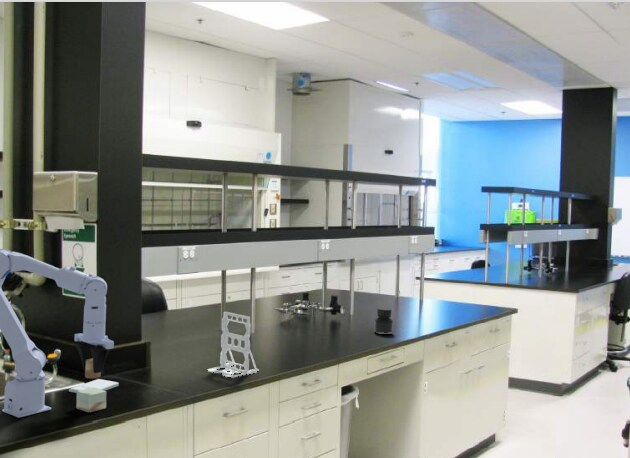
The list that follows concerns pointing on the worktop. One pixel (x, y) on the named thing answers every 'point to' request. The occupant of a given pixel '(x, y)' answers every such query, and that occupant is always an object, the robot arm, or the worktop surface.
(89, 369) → the beech cylinder
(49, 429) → the worktop surface
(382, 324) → the ink bottle
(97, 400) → the slab upper
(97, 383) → the external hard drive
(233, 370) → the grey upright openwork frame
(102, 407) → the slab lower
